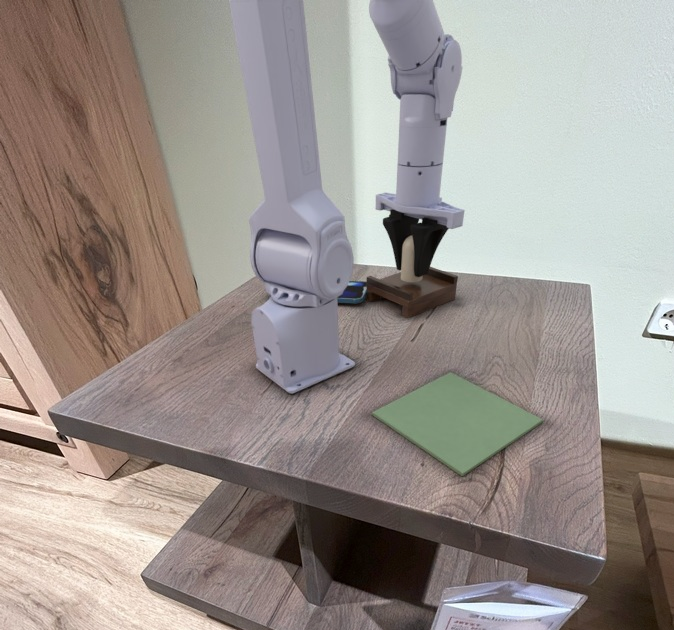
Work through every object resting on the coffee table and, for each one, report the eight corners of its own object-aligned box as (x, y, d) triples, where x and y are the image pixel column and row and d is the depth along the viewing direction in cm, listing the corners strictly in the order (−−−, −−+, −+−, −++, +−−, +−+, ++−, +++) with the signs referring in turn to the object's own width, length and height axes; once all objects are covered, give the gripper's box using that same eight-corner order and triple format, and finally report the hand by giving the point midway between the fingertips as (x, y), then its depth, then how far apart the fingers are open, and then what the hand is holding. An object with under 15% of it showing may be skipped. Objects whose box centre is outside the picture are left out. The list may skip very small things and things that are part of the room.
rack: (407, 318, 64) (409, 294, 62) (366, 299, 70) (366, 276, 67) (455, 299, 69) (458, 275, 66) (412, 283, 74) (414, 260, 72)
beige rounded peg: (411, 284, 65) (414, 240, 61) (396, 278, 67) (398, 235, 63) (427, 278, 67) (431, 235, 63) (411, 273, 69) (414, 230, 65)
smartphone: (283, 278, 75) (371, 281, 72) (284, 283, 76) (371, 287, 73) (267, 295, 70) (361, 299, 67) (268, 301, 71) (361, 305, 67)
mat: (462, 476, 40) (462, 473, 39) (371, 415, 47) (372, 412, 47) (542, 422, 45) (543, 419, 45) (450, 374, 52) (450, 371, 52)
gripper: (486, 165, 55) (469, 277, 64) (402, 153, 64) (397, 253, 73) (447, 173, 52) (434, 291, 60) (364, 160, 60) (364, 264, 69)
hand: (412, 271), depth 66 cm, fingers closed on beige rounded peg, 3 cm apart
